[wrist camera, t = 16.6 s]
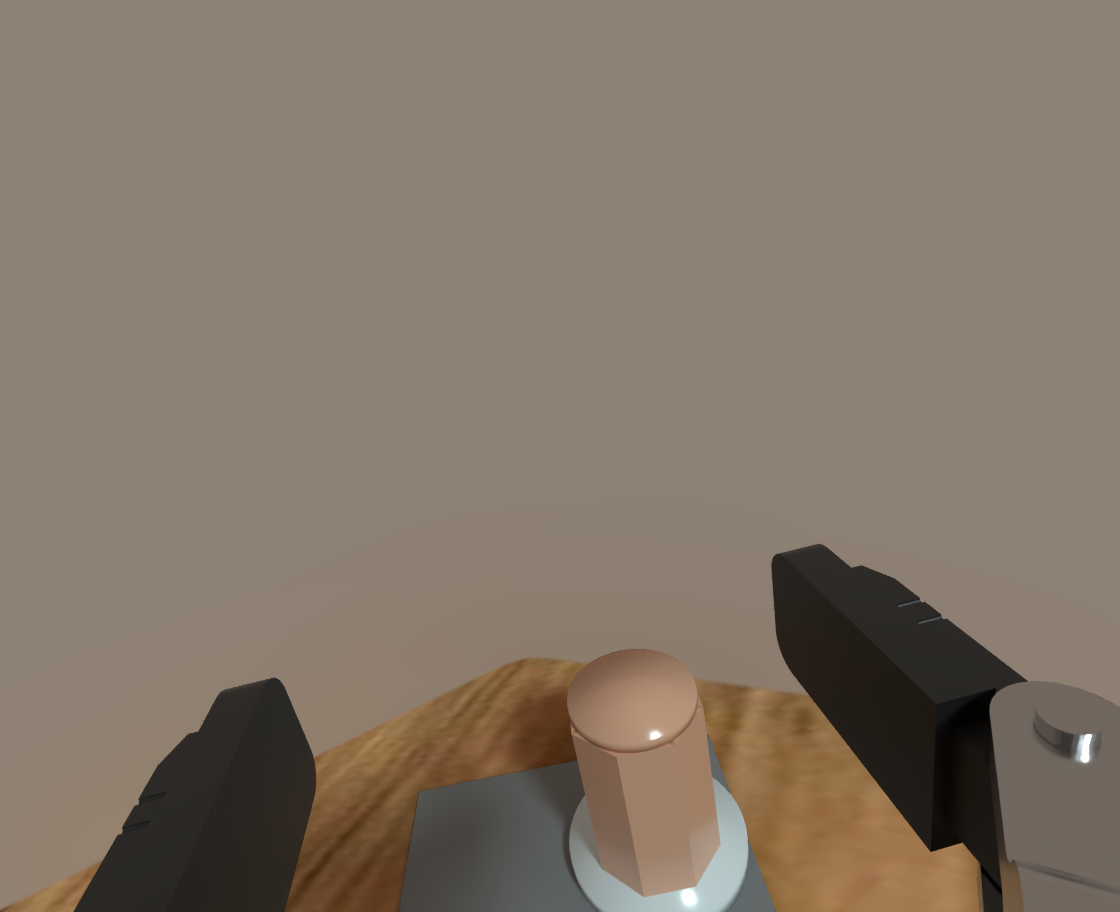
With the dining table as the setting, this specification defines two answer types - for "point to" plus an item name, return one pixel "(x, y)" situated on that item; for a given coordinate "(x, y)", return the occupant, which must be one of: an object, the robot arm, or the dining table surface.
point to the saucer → (685, 908)
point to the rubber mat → (514, 846)
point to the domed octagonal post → (645, 769)
